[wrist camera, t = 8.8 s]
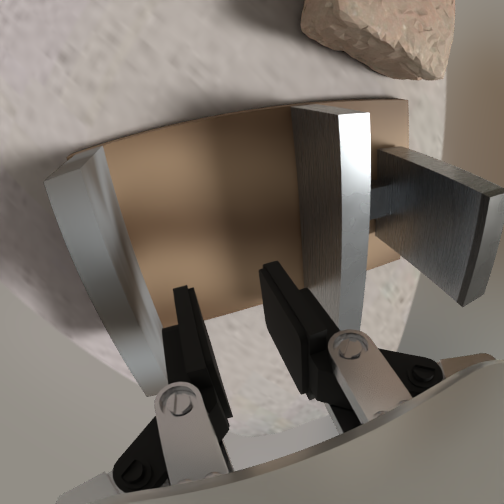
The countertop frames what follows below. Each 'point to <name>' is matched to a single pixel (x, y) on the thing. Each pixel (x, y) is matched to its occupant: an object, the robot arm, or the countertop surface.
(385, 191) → the free jaw
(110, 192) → the vise base
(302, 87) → the countertop surface
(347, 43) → the brick
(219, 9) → the countertop surface
